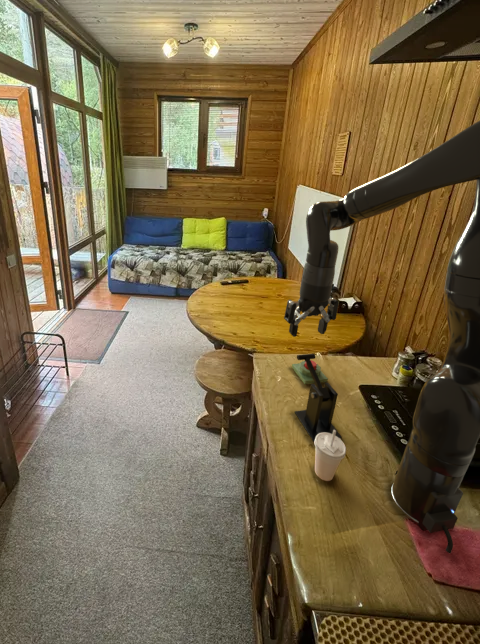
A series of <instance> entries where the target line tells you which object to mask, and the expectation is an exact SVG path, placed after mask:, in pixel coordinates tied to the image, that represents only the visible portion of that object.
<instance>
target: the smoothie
mask: <svg viewBox="0 0 480 644" xmlns="http://www.w3.org/2000/svg"><path fill="white" fill-rule="evenodd" d="M336 430H337V429H336ZM336 430H333V434H331V433H326V432H323V433H319V434H318V435H317V436H316V438H315V441H314V442H313V444H314V447H315V450H314V451H315V453H314V455H315V456H314V472H315V474H316V476H317V477H318V478H319V479H321V480H322V481H325V482H330V481H332V480H333V479H334V476H335V474H336V472H337V470H338V468H339V466H340V464H341V462H342V460H343V459H344V458H345V457H346V454H347V447H346V444H345V443H344V441H343V440H342V438H338V437H337V436H335V434H336Z"/></svg>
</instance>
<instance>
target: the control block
mask: <svg viewBox="0 0 480 644" xmlns="http://www.w3.org/2000/svg"><path fill="white" fill-rule="evenodd" d="M316 364H317V366H316V370H315V371H316V374H317V376H318V378H319V380H320V382H321V384H322V383H329V378H328V377H327V376H326V374H325V373H324V372H323V371H322V368H321V366H320V365H319V364H318V363H316ZM291 368H292V370H293V371H294V372H295V373H296V375H297V376H298V377H299V379H300V381H302V382H303V384H304V385H309V384H310V385H311V384H315V382H314V380H313V378H312V375H311V373H310V371H309V370H308V369H306V368H305V360H301V362H300V363H292V364H291Z"/></svg>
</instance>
